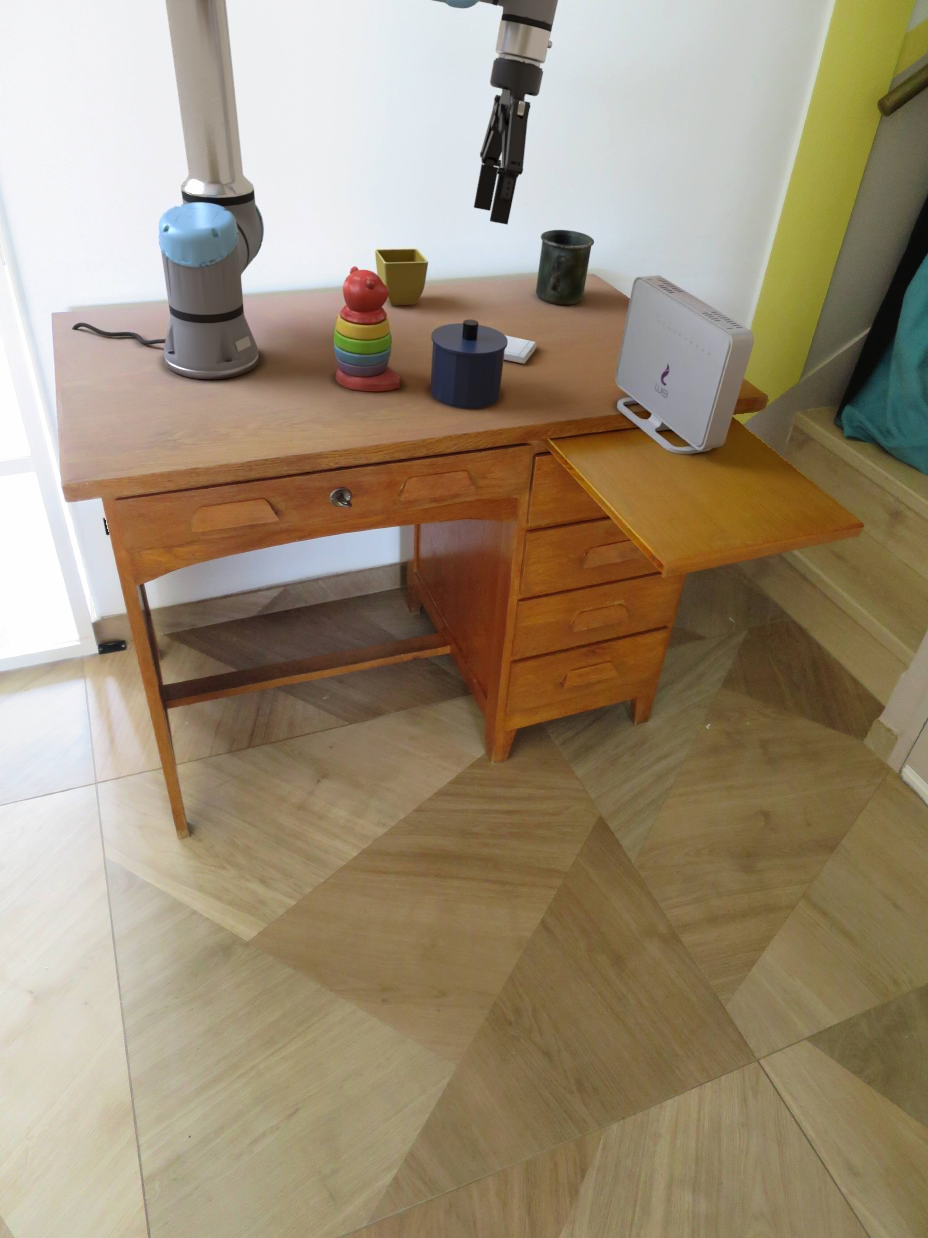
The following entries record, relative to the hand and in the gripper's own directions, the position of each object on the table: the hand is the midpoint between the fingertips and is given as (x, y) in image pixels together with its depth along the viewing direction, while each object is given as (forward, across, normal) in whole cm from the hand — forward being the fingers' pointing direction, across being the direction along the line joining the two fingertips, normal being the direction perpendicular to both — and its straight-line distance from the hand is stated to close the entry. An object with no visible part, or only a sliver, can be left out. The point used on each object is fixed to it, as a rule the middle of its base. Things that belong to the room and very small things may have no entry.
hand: (489, 215), depth 140 cm
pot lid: (+17, -11, +2) cm, 20 cm away
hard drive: (+23, +8, -8) cm, 26 cm away
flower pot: (+22, +32, +8) cm, 40 cm away
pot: (+26, -10, +1) cm, 28 cm away
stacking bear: (+28, -4, +17) cm, 33 cm away
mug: (+17, +35, -26) cm, 47 cm away
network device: (+24, -21, -30) cm, 44 cm away
